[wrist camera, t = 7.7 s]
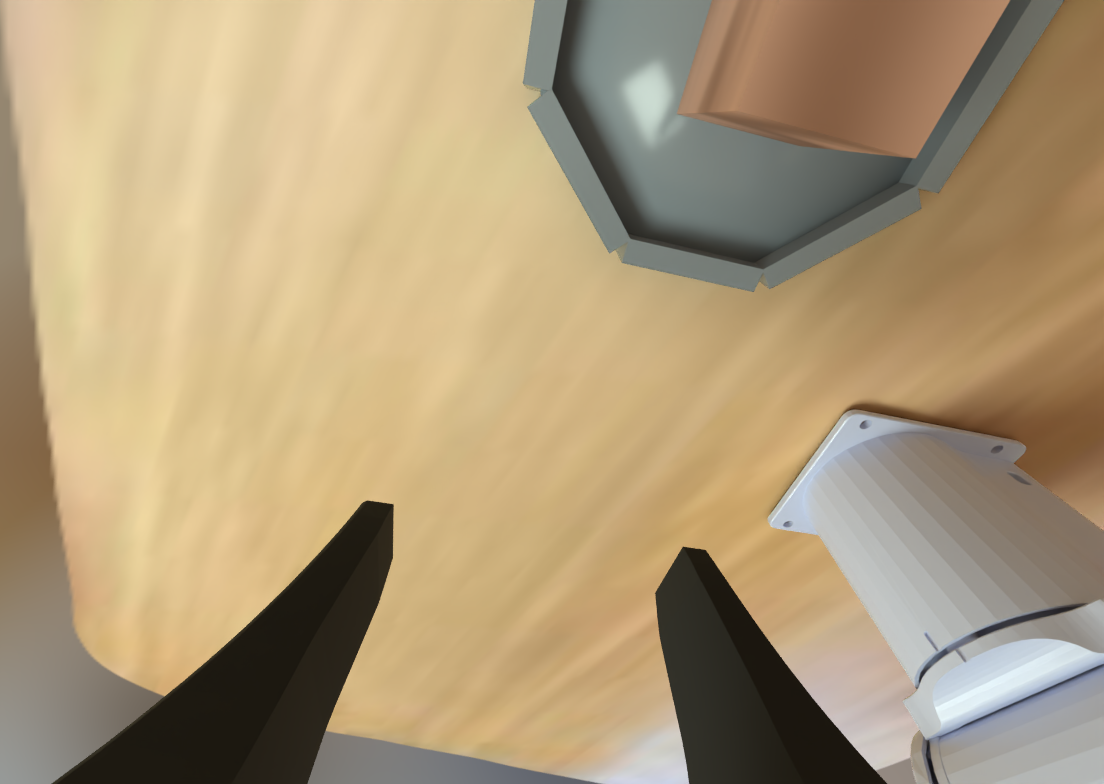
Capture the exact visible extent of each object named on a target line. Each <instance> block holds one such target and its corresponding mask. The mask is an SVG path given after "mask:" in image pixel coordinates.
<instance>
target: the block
mask: <svg viewBox="0 0 1104 784" xmlns="http://www.w3.org/2000/svg"><path fill="white" fill-rule="evenodd" d="M1009 2H1010V0H712V2H711V5H710V8H709V12H708V15H707V18H706V21H705V24H704V28H703V31H702V34H701V37H700V40H699V44H698V47H697V50H696V53H695V57H694V60H693V63H692V66H691V69H690V73H689V76H688V79H687V82H686V85H685V89H684V92H683V95H682V98H681V102H680V105H679V108H678V111H677V114H679V115H683V116H686V117H690V118H694V119H698V120H702V121H705V122H709V123H713V124H717V125H721V126H724V127H728V128H732V129H736V130H740V131H744V132H747V133H751V134H755V135H759V136H763V137H766V138H770V139H774V140H778V141H782V142H785V143H789V144H793V145H797V146H803V147H812V148H822V149H831V150H840V151H850V152H859V153H868V154H878V155H887V156H897V157H906V158H915V159H916V157H917V156H918V154H919V152H920V151H921V149H922V147H923V146H924V144H925V142H926V141H927V139H928V137H929V136H930V134H931V132H932V131H933V129H934V127H935V126H936V124H937V122H938V120H939V119H940V117H941V115H942V114H943V112H944V110H945V109H946V107H947V105H948V104H949V102H950V100H951V99H952V97H953V95H954V94H955V92H956V90H957V89H958V87H959V85H960V84H961V82H962V80H963V79H964V77H965V75H966V74H967V72H968V70H969V69H970V67H971V65H972V64H973V62H974V60H975V59H976V57H977V55H978V54H979V52H980V50H981V48H982V47H983V45H984V43H985V42H986V40H987V38H988V37H989V35H990V33H991V32H992V30H993V28H994V27H995V25H996V23H997V22H998V20H999V18H1000V17H1001V15H1002V13H1003V12H1004V10H1005V8H1006V7H1007V5H1008V3H1009Z"/></svg>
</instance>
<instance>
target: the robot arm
mask: <svg viewBox="0 0 1104 784" xmlns="http://www.w3.org/2000/svg"><path fill="white" fill-rule="evenodd" d="M865 420H866V421H865ZM863 421H864V422H863ZM862 422H863V423H862ZM1025 451H1026V446H1025V445H1023V444H1022V443H1021V442H1019V441H1017V440H1012V439H1007V438H1002V437H996V436H991V435H986V434H981V433H976V432H971V431H966V430H960V429H955V428H950V427H945V426H940V425H935V424H929V423H924V422H919V421H914V420H909V419H904V418H899V417H893V416H888V415H883V414H878V413H873V412H868V411H863V410H850V411H848V412H846V413H845V414H844V415H843V416H842V417H841V418H840V419H839V421H838V422H837V424H836V425H835V426H834V428H833V429H832V430H831V432H830V433H829V435H828V436H827V437H826V439H825V440H824V441H823V443H822V444H821V446H820V447H819V448H818V450H817V451H816V452H815V454H814V455H813V456H812V458H811V459H810V461H809V462H808V463H807V465H806V466H805V467H804V469H803V470H802V472H801V473H800V474H799V476H798V477H797V478H796V480H795V481H794V483H793V484H792V485H791V487H790V488H789V489H788V491H787V492H786V493H785V495H784V496H783V498H782V499H781V500H780V502H779V503H778V504H777V506H776V507H775V509H774V510H773V511H772V513H771V514H770V515H769V517H768V522H769V524H770V526H771V527H773V528H777V529H783V530H790V531H796V532H803V533H809V534H816V535H819V536H820V538H821V540H822V541H823V543H824V544H825V546H826V547H827V549H828V551H829V552H830V554H831V555H832V557H833V558H834V560H835V562H836V563H837V565H838V566H839V568H840V569H841V571H842V573H843V574H844V576H845V577H846V579H847V580H848V582H849V584H850V585H851V587H852V588H853V590H854V591H855V593H856V595H857V596H858V598H859V599H860V601H861V602H862V604H863V606H864V607H865V609H866V610H867V612H868V613H869V615H870V617H871V618H872V620H873V621H874V623H875V624H876V626H877V628H878V629H879V631H880V632H881V634H882V635H883V637H884V639H885V640H886V642H887V643H888V645H889V646H890V648H891V650H892V651H893V653H894V654H895V656H896V657H897V659H898V661H899V662H900V664H901V665H902V667H903V668H904V670H905V672H906V673H907V675H908V676H909V678H910V679H911V681H912V682H913V684H914V686H915V687H916V689H917V690H916V691H915V692H914V693H913V694H912V695H910V696H909V697H907V698H905V699H904V700H903V703H904V704H905V706H906V708H907V709H908V711H909V713H910V714H911V716H912V718H913V719H914V721H915V723H916V724H917V726H918V728H919V729H920V730H919V731H918V732H917V733H916V734H915V736H914V737H913V740H912V743H911V763H912V770H913V774H914V778H915V781H916V784H1104V531H1103V530H1102V529H1100V528H1099V527H1098V526H1096V525H1095V524H1094V523H1092V522H1091V521H1090V520H1088V519H1087V518H1086V517H1084V516H1083V515H1082V514H1080V513H1079V512H1078V511H1076V510H1075V509H1074V508H1072V507H1071V506H1070V505H1068V504H1067V503H1066V502H1064V501H1063V500H1062V499H1060V498H1059V497H1058V496H1056V495H1055V494H1054V493H1052V492H1051V491H1050V490H1048V489H1047V488H1046V487H1044V486H1043V485H1042V484H1040V483H1039V482H1038V481H1036V480H1035V479H1034V478H1032V477H1031V476H1030V475H1028V474H1027V473H1026V472H1024V471H1023V470H1022V469H1020V468H1019V467H1018V466H1016V465H1015V464H1014V462H1015V461H1016V460H1018V459H1019V458H1020V457H1021V456H1022V455H1023V454H1024V453H1025ZM393 507H394V504H387V503H381V502H374V501H365V502H363V503H362V504H361V505H360V507H359V508H358V509H357V510H356V512H355V513H354V514H353V515H352V516H351V518H350V519H349V520H348V521H347V522H346V524H345V525H344V526H343V527H342V528H341V529H340V531H339V532H338V533H337V534H336V535H335V536H334V537H333V539H332V540H331V541H330V542H329V543H328V544H327V545H326V546H325V547H324V549H323V550H322V551H321V552H320V553H319V554H318V555H317V556H316V557H315V558H314V559H313V560H312V561H311V562H310V563H309V564H308V566H307V567H306V568H305V569H304V570H303V571H302V572H301V573H300V574H299V575H298V576H297V577H296V578H295V579H294V580H293V581H292V582H291V583H290V584H289V585H288V586H287V587H286V588H285V589H284V590H283V591H282V592H281V593H280V594H279V595H278V596H277V597H276V598H275V599H274V600H273V601H272V602H271V603H270V604H269V605H268V606H267V607H266V608H265V609H264V610H263V611H262V612H260V613H259V614H258V615H257V616H256V617H255V618H254V619H253V620H252V621H251V622H250V623H249V624H248V625H247V626H246V627H245V628H244V629H243V630H241V631H240V632H239V633H238V634H237V635H236V636H235V637H234V638H233V639H232V640H230V641H229V642H228V643H227V644H226V645H225V646H224V647H223V648H222V649H220V650H219V651H218V652H217V653H216V654H215V655H214V656H212V657H211V658H210V659H209V660H208V661H207V662H205V663H204V664H203V665H202V666H201V667H200V668H198V669H197V670H196V671H195V672H194V673H193V674H192V675H190V676H189V677H188V678H187V679H186V680H184V681H183V682H182V683H181V684H179V685H178V686H177V687H176V688H175V689H173V690H172V691H171V692H170V693H168V694H167V695H166V696H165V697H164V698H162V699H161V700H160V701H159V702H157V703H156V704H155V705H154V706H153V707H151V708H150V709H149V710H148V711H146V712H145V713H144V714H143V715H141V716H140V717H139V718H138V719H137V720H135V721H134V722H133V723H132V724H130V725H129V726H128V727H126V728H125V729H124V730H123V731H121V732H120V733H119V734H117V735H116V736H115V737H114V738H112V739H111V740H110V741H109V742H107V743H106V744H105V745H103V746H102V747H100V748H99V749H98V750H96V751H95V752H94V753H92V754H91V755H90V756H88V757H87V758H86V759H84V760H83V761H82V762H80V763H79V764H78V765H76V766H75V767H74V768H72V769H71V770H69V771H68V772H67V773H65V774H64V775H63V776H61V777H60V778H59V779H58V780H56V781H55V782H53V783H52V784H307V783H308V780H309V777H310V774H311V771H312V768H313V765H314V762H315V759H316V756H317V753H318V750H319V748H320V744H321V742H322V739H323V735H324V733H325V730H326V728H327V725H328V722H329V720H330V717H331V715H332V712H333V710H334V707H335V705H336V702H337V700H338V698H339V695H340V693H341V691H342V688H343V686H344V684H345V681H346V679H347V676H348V674H349V672H350V669H351V667H352V665H353V662H354V660H355V658H356V655H357V653H358V651H359V648H360V646H361V644H362V641H363V639H364V637H365V634H366V632H367V629H368V627H369V625H370V622H371V620H372V618H373V615H374V613H375V610H376V608H377V606H378V603H379V600H380V597H381V594H382V591H383V588H384V585H385V582H386V578H387V575H388V572H389V569H390V565H391V562H392V559H393ZM655 594H656V606H657V617H658V626H659V634H660V640H661V645H662V650H663V654H664V659H665V664H666V669H667V673H668V678H669V682H670V687H671V691H672V696H673V700H674V705H675V710H676V714H677V719H678V723H679V728H680V732H681V737H682V742H683V747H684V753H685V758H686V764H687V771H688V778H689V784H887V783H886V782H885V781H884V780H883V779H882V778H881V777H880V775H879V774H878V773H877V772H876V771H875V770H874V769H873V768H872V767H871V766H870V765H869V763H868V762H867V761H866V760H865V759H864V758H863V757H862V756H861V755H860V753H859V752H858V751H857V750H856V749H855V748H854V747H853V745H852V744H851V743H850V742H849V741H848V740H847V738H846V737H845V736H844V735H843V734H842V733H841V731H840V730H839V729H838V728H837V727H836V726H835V725H834V723H833V722H832V721H831V720H830V719H829V718H828V716H827V715H826V714H825V713H824V712H823V710H822V709H821V708H820V707H819V705H818V704H817V703H816V702H815V701H814V699H813V698H812V697H811V696H810V694H809V693H808V692H807V691H806V689H805V688H804V687H803V685H802V684H801V683H800V682H799V680H798V679H797V678H796V676H795V675H794V674H793V673H792V671H791V670H790V669H789V667H788V666H787V665H786V664H785V662H784V661H783V660H782V658H781V657H780V655H779V654H778V653H777V651H776V650H775V649H774V647H773V646H772V645H771V643H770V642H769V641H768V639H767V638H766V636H765V635H764V634H763V632H762V631H761V629H760V628H759V627H758V625H757V624H756V622H755V621H754V620H753V618H752V617H751V615H750V614H749V612H748V611H747V610H746V608H745V607H744V605H743V604H742V602H741V601H740V599H739V598H738V597H737V595H736V594H735V592H734V591H733V589H732V588H731V586H730V585H729V583H728V582H727V580H726V579H725V577H724V576H723V575H722V573H721V572H720V570H719V569H718V567H717V566H716V564H715V563H714V561H713V560H712V558H711V557H710V556H709V554H708V553H707V551H706V550H702V549H695V548H688V547H683V548H682V549H681V551H680V553H679V554H678V556H677V558H676V559H675V561H674V563H673V564H672V566H671V568H670V569H669V571H668V573H667V574H666V576H665V578H664V579H663V581H662V583H661V584H660V586H659V588H658V589H657V591H656V593H655Z"/></svg>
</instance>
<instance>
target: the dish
mask: <svg viewBox="0 0 1104 784" xmlns="http://www.w3.org/2000/svg"><path fill="white" fill-rule="evenodd" d="M1063 1H1064V0H1010V2H1009V3H1008V5H1007V7H1006V8H1005V10H1004V12H1003V13H1002V15H1001V17H1000V18H999V20H998V22H997V23H996V25H995V27H994V28H993V30H992V32H991V33H990V35H989V37H988V38H987V40H986V42H985V43H984V45H983V47H982V48H981V50H980V52H979V54H978V55H977V57H976V59H975V60H974V62H973V64H972V65H971V67H970V69H969V70H968V72H967V74H966V75H965V77H964V79H963V80H962V82H961V84H960V85H959V87H958V89H957V90H956V92H955V94H954V95H953V97H952V99H951V100H950V102H949V104H948V105H947V107H946V109H945V110H944V112H943V114H942V115H941V117H940V119H939V120H938V122H937V124H936V126H935V127H934V129H933V131H932V132H931V134H930V136H929V137H928V139H927V141H926V142H925V144H924V146H923V147H922V149H921V151H920V152H919V154H918V156H917V157H916V159H915V158H906V157H897V156H887V155H878V154H868V153H859V152H850V151H840V150H831V149H822V148H812V147H803V146H797V145H793V144H789V143H785V142H782V141H778V140H774V139H770V138H766V137H763V136H759V135H755V134H751V133H747V132H744V131H740V130H736V129H732V128H728V127H724V126H721V125H717V124H713V123H709V122H705V121H702V120H698V119H694V118H690V117H686V116H683V115H679V114H677V111H678V108H679V105H680V102H681V98H682V95H683V92H684V89H685V85H686V82H687V79H688V76H689V73H690V69H691V66H692V63H693V60H694V57H695V53H696V50H697V47H698V44H699V40H700V37H701V34H702V31H703V28H704V24H705V21H706V18H707V15H708V12H709V8H710V5H711V2H712V0H535V3H534V10H533V17H532V24H531V31H530V38H529V45H528V52H527V59H526V66H525V73H524V80H523V84H524V86H525V87H526V88H529V89H532V90H536V91H540V92H541V97H539V98H538V99H537V100H536V101H534V102H533V103H532V104H530V105H529V106H528V107H527V108H528V109H529V111H530V113H531V115H532V116H533V118H534V120H535V122H536V124H537V125H538V127H539V129H540V131H541V133H542V134H543V136H544V138H545V140H546V141H547V143H548V145H549V147H550V149H551V150H552V152H553V154H554V156H555V157H556V159H557V161H558V163H559V165H560V166H561V168H562V170H563V172H564V173H565V175H566V177H567V179H568V181H569V182H570V184H571V186H572V188H573V190H574V191H575V193H576V195H577V197H578V198H579V200H580V202H581V204H582V206H583V207H584V209H585V211H586V213H587V214H588V216H589V218H590V220H591V222H592V223H593V225H594V227H595V229H596V230H597V232H598V234H599V236H600V238H601V239H602V241H603V243H604V245H605V247H606V248H607V250H608V252H609V253H611V252H612V251H614V250H616V252H617V254H618V256H619V258H620V260H621V262H622V263H625V264H630V265H634V266H639V267H643V268H648V269H652V270H657V271H661V272H666V273H670V274H675V275H679V276H684V277H688V278H693V279H697V280H702V281H706V282H711V283H715V284H720V285H724V286H729V287H733V288H738V289H742V290H747V291H751V292H754V290H755V288H756V286H757V284H758V282H759V281H760V282H761V283H762V284H764V285H765V286H766V287H767V288H769V289H771V288H773V287H775V286H777V285H778V284H780V283H782V282H784V281H786V280H788V279H790V278H792V277H794V276H795V275H797V274H799V273H801V272H803V271H805V270H807V269H809V268H811V267H812V266H814V265H816V264H818V263H820V262H822V261H824V260H826V259H828V258H829V257H831V256H833V255H835V254H837V253H839V252H841V251H843V250H845V249H846V248H848V247H850V246H852V245H854V244H856V243H858V242H860V241H862V240H863V239H865V238H867V237H869V236H871V235H873V234H875V233H877V232H879V231H880V230H882V229H884V228H886V227H888V226H890V225H892V224H894V223H896V222H897V221H899V220H901V219H903V218H905V217H907V216H909V215H911V214H913V213H914V212H916V211H918V210H920V209H921V203H920V197H919V190H923V191H928V192H934V193H939V192H940V190H941V189H942V187H943V185H944V184H945V182H946V181H947V179H948V178H949V176H950V175H951V173H952V172H953V170H954V169H955V167H956V166H957V164H958V162H959V161H960V159H961V158H962V156H963V155H964V153H965V152H966V150H967V149H968V147H969V146H970V144H971V143H972V141H973V139H974V138H975V136H976V135H977V133H978V132H979V130H980V129H981V127H982V126H983V124H984V123H985V121H986V119H987V118H988V116H989V115H990V113H991V112H992V110H993V109H994V107H995V106H996V104H997V103H998V101H999V100H1000V98H1001V96H1002V95H1003V93H1004V92H1005V90H1006V89H1007V87H1008V86H1009V84H1010V83H1011V81H1012V80H1013V78H1014V77H1015V75H1016V73H1017V72H1018V70H1019V69H1020V67H1021V66H1022V64H1023V63H1024V61H1025V60H1026V58H1027V57H1028V55H1029V54H1030V52H1031V50H1032V49H1033V47H1034V46H1035V44H1036V43H1037V41H1038V40H1039V38H1040V37H1041V35H1042V34H1043V32H1044V30H1045V29H1046V27H1047V26H1048V24H1049V23H1050V21H1051V20H1052V18H1053V17H1054V15H1055V14H1056V12H1057V11H1058V9H1059V7H1060V6H1061V4H1062V3H1063Z"/></svg>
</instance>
